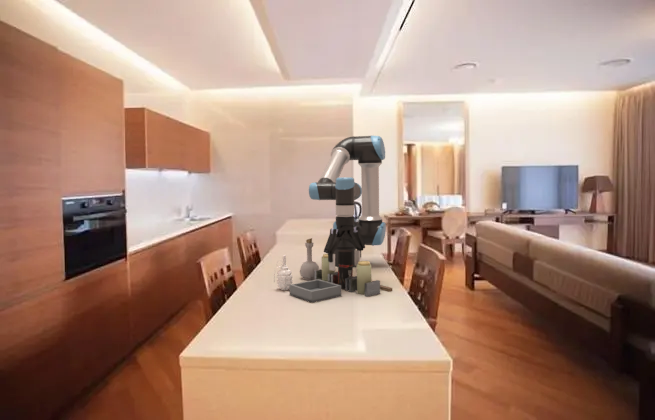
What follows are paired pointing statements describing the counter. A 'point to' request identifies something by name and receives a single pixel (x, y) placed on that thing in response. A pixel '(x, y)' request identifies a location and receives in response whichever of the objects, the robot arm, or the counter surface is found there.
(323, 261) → the cartridge
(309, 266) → the potion bottle
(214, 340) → the counter surface
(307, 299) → the tray
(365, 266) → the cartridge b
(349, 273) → the deodorant
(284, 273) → the hand grenade
